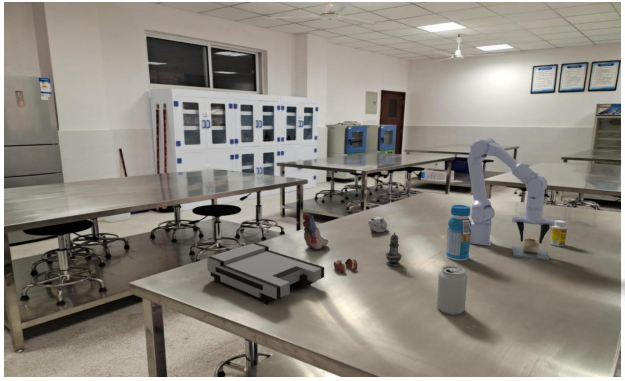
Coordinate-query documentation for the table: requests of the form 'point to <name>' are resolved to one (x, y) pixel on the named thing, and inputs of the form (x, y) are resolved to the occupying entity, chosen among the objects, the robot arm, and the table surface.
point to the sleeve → (531, 246)
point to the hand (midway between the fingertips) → (530, 241)
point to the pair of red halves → (349, 263)
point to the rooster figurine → (312, 233)
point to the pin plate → (520, 253)
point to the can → (452, 290)
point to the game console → (262, 272)
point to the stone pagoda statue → (393, 252)
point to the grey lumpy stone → (377, 224)
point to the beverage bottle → (459, 233)
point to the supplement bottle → (558, 233)
